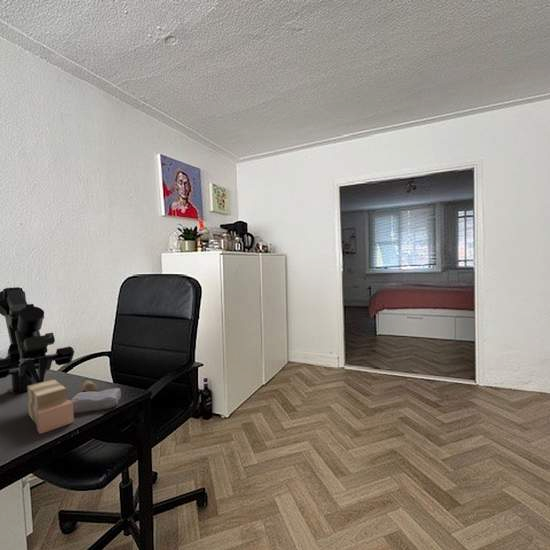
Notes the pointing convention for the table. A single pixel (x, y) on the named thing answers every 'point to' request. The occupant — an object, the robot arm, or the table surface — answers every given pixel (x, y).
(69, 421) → the block
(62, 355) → the robot arm
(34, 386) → the notched wooden block
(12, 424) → the table surface
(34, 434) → the table surface
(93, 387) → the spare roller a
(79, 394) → the stone block
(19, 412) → the table surface
